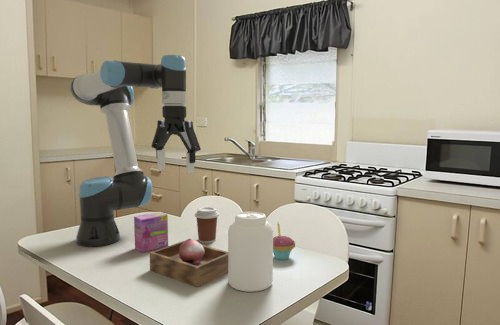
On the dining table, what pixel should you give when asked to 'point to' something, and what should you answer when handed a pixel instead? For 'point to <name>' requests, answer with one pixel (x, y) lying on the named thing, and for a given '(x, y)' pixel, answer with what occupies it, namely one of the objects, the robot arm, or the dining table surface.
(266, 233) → the white lidded jar
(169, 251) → the wooden tray
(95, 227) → the robot arm
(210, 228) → the coffee cup
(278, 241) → the cupcake
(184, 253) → the onion
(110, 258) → the dining table surface
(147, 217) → the box
